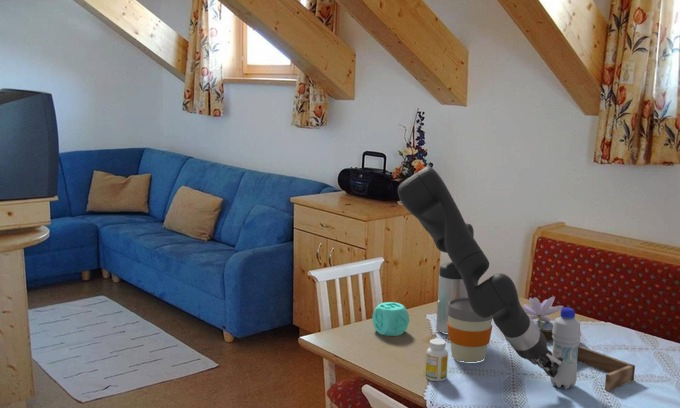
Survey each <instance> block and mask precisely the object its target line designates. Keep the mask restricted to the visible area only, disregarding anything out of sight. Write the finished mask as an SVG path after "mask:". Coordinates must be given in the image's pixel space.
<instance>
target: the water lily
mask: <svg viewBox="0 0 680 408" xmlns="http://www.w3.org/2000/svg"><path fill="white" fill-rule="evenodd" d="M555 298H556V296H551V297H549V298H548V299H544V300H542V302H540V300H539V299H538V297H533V298H532V297H529V299H528V302H529V304H530V305H528V304H526V303H524V304H522V305H523V306H521V307H522V308H523V310H524V311H525V312H526V314H527V315H528V316H529V317H530V318H531V319H532V320H533V321H534V319H538V322H539V327H540V328H539V329H544V327H543V324H542V322H544V323H549V322H550V321H551V318H550V317H549V315H553V314H555V313H556V312H558V311H561V309H562V308H565V306H564V305H556V306H553V303H554V301H555Z"/></svg>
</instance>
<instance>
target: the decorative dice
mask: <svg viewBox="0 0 680 408" xmlns="http://www.w3.org/2000/svg"><path fill="white" fill-rule="evenodd" d="M371 320H372V324H373V327H374V329H375V330H376V332H377V333H378V334H379V335H382V336H388V337H396V336H400V335H402V334H403V333H405V332H406V330H407V329H408V327H409V323H410V315H409V312H408V310H407V308H406V307H405V305H404V304H401V303H400V302H393V301H389V302H388V301H386V302H382V303H379V304H378V305H377V306H376V307H375V308H374V311H373V312H372V319H371Z"/></svg>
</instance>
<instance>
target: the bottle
mask: <svg viewBox="0 0 680 408" xmlns="http://www.w3.org/2000/svg"><path fill="white" fill-rule="evenodd" d="M559 316H560V317H559ZM559 316H558V317H557V318H554V322H553V327H552V329H551V330H552V333H553V335H552V338H553V341H552V351H551V352H552V356H553V357H555V358H556V357H561V358H562V359H563V361H562V363H561V365H560V366H559V368H558V369H557V370H558V372H557V374H556V376H555V377H554V378H553V377H551V376H549V377H550V382H551V385H552V386H554V387H555V386H556V387H557V388H558V389H561V387H562V386H564V389H565V390H568V389H569V388H570V389H573V388H574V387H575V386H576V384H577V383H576V382H577V378H578V377H577V376H578V373H577V372H578V366H577V365H578V361H577V355H578V345H579V344H580V341H581V336H582V334H581V322H580V320H578V319H576V311H575V310H574V308H573V307H572V308H571V307H565V306H564V307H563V308H562V309H560V315H559ZM578 343H579V344H578Z"/></svg>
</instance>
